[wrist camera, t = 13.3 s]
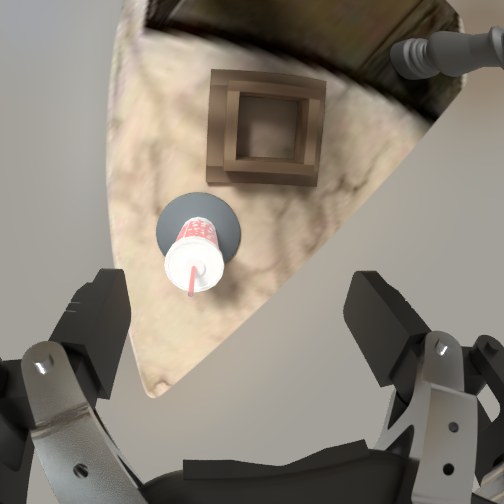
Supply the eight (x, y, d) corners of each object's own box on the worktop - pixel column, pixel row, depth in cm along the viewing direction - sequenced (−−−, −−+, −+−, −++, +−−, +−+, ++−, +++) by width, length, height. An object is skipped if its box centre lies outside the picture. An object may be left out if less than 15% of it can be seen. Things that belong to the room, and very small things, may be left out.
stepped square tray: (211, 70, 28) (210, 62, 24) (324, 81, 30) (338, 77, 26) (206, 180, 34) (204, 188, 30) (314, 185, 36) (326, 193, 32)
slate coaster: (155, 192, 34) (154, 193, 34) (241, 193, 36) (242, 194, 35) (160, 269, 39) (159, 272, 38) (237, 270, 40) (238, 272, 40)
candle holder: (428, 68, 30) (565, 70, 7) (407, 87, 31) (556, 94, 9) (405, 35, 27) (541, 12, 5) (382, 52, 29) (530, 27, 6)
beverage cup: (187, 261, 38) (176, 329, 25) (167, 222, 35) (143, 277, 23) (229, 245, 38) (236, 309, 25) (211, 203, 35) (208, 251, 22)
